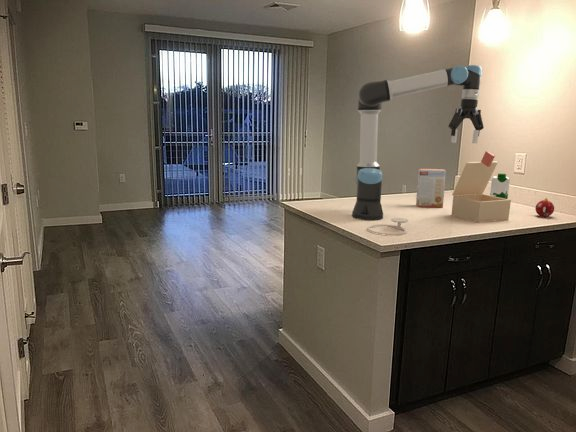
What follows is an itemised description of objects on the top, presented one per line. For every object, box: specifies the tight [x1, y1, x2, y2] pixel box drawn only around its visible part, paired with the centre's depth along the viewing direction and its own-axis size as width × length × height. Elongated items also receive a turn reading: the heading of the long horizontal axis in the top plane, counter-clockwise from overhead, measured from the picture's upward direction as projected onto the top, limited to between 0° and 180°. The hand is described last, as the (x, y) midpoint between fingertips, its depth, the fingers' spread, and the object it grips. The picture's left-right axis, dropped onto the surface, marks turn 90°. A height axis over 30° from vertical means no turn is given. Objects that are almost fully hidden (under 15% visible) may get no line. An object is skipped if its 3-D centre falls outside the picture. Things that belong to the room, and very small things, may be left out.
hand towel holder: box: [366, 217, 410, 236], centre depth 208 cm, size 17×4×21 cm
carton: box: [451, 193, 512, 224], centre depth 239 cm, size 20×18×10 cm
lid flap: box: [451, 150, 499, 196], centre depth 238 cm, size 20×25×5 cm
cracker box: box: [415, 168, 447, 209], centre depth 263 cm, size 14×6×21 cm, turn 84°
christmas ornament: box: [535, 197, 555, 218], centre depth 245 cm, size 9×9×10 cm
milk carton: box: [489, 173, 510, 199], centre depth 258 cm, size 9×9×20 cm
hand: (464, 143), depth 235 cm, fingers open, 13 cm apart
